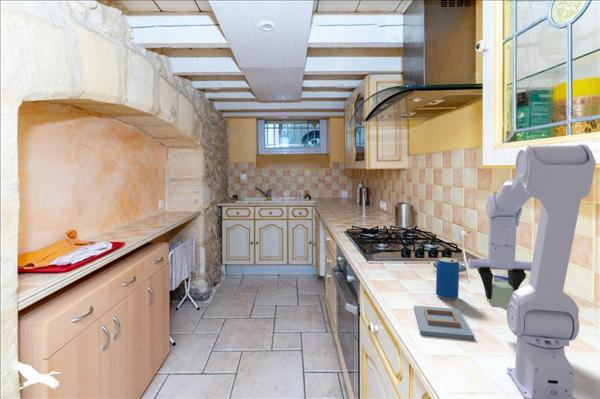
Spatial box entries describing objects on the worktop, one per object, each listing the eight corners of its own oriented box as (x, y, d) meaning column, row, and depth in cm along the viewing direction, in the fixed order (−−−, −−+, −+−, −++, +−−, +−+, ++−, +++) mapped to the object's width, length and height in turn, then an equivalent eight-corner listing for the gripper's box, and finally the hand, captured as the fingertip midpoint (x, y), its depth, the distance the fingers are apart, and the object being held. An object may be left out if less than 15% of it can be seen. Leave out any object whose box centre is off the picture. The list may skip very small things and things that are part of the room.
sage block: (512, 308, 82) (513, 288, 82) (492, 306, 83) (492, 286, 83) (505, 301, 87) (506, 282, 86) (486, 300, 88) (487, 281, 87)
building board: (473, 339, 81) (474, 331, 81) (420, 334, 84) (420, 326, 84) (458, 312, 97) (458, 305, 97) (414, 308, 100) (414, 302, 99)
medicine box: (497, 295, 110) (498, 268, 109) (513, 298, 107) (514, 271, 106) (492, 303, 104) (493, 274, 103) (509, 306, 101) (510, 277, 100)
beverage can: (460, 301, 105) (461, 262, 104) (437, 300, 106) (439, 261, 105) (455, 293, 111) (456, 257, 110) (434, 292, 113) (435, 256, 112)
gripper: (528, 241, 86) (525, 294, 87) (465, 239, 89) (463, 290, 90) (541, 247, 79) (538, 305, 80) (472, 245, 82) (470, 300, 84)
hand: (499, 298), depth 85 cm, fingers closed on sage block, 4 cm apart
